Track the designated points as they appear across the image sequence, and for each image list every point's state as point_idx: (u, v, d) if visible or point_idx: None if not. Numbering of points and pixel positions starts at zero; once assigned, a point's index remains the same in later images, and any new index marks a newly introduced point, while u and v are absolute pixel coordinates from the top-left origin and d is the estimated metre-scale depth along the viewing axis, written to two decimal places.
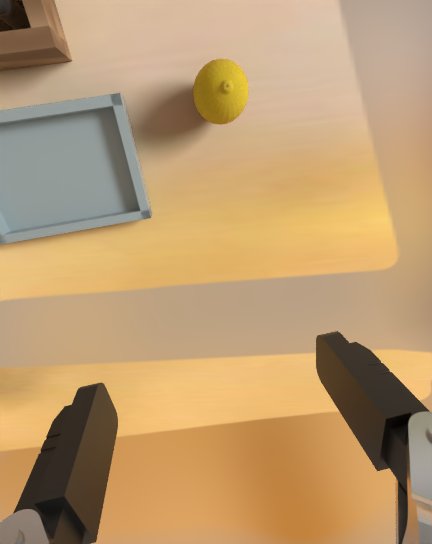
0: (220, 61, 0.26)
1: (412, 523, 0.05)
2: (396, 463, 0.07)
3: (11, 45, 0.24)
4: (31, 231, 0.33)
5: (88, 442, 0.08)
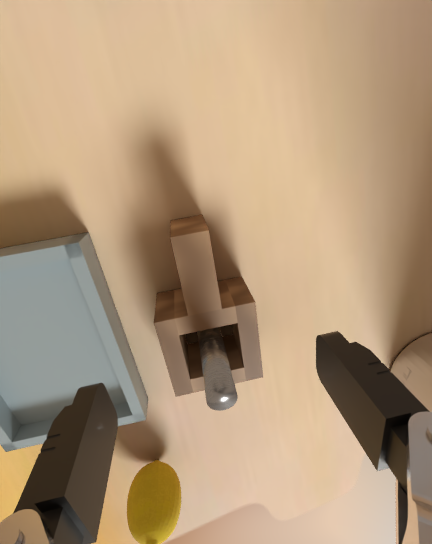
0: (175, 521, 0.28)
1: (412, 523, 0.05)
2: (396, 463, 0.07)
3: (172, 362, 0.22)
4: None
5: (89, 442, 0.08)
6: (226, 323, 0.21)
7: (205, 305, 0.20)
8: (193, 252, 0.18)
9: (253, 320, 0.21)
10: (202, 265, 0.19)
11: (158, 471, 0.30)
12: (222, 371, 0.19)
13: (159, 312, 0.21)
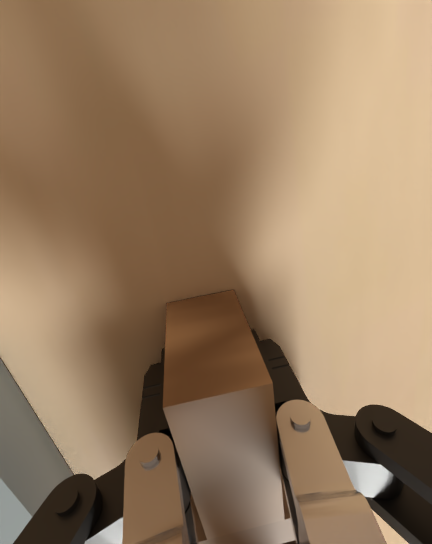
0: None
1: (301, 521, 0.05)
2: None
3: None
4: None
5: None
6: (290, 538, 0.09)
7: (248, 519, 0.09)
8: (225, 431, 0.07)
9: None
10: (248, 455, 0.07)
11: None
12: None
13: None
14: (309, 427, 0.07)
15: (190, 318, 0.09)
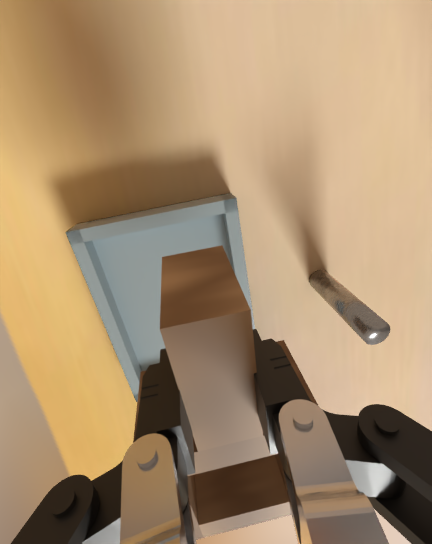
0: None
1: (303, 520, 0.05)
2: (278, 446, 0.08)
3: None
4: (96, 279, 0.23)
5: None
6: (268, 453, 0.11)
7: (232, 434, 0.10)
8: (212, 352, 0.08)
9: None
10: (231, 374, 0.09)
11: None
12: (370, 310, 0.21)
13: None
14: (312, 427, 0.07)
15: (183, 267, 0.10)
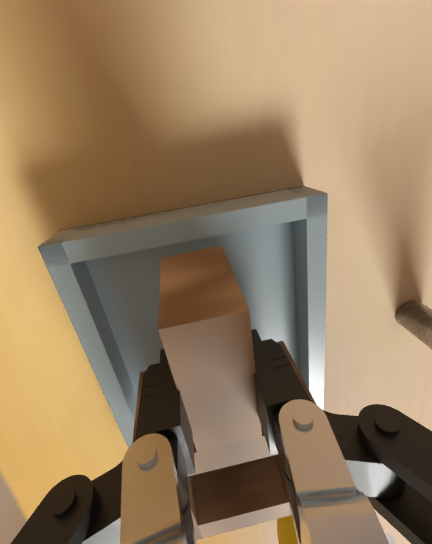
0: None
1: (303, 520, 0.05)
2: (278, 445, 0.08)
3: None
4: (91, 323, 0.14)
5: None
6: (267, 454, 0.11)
7: (231, 434, 0.10)
8: (210, 353, 0.08)
9: None
10: (230, 375, 0.09)
11: None
12: None
13: None
14: (312, 427, 0.07)
15: (182, 268, 0.10)
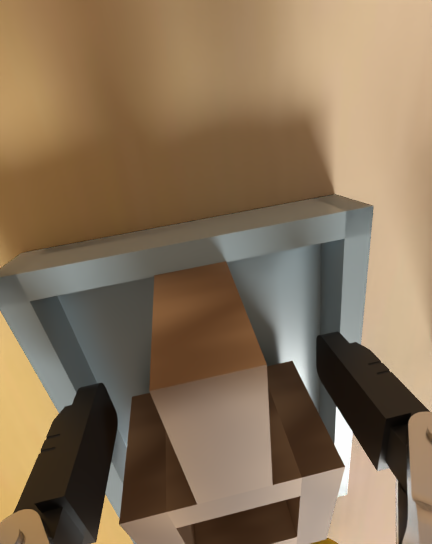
0: None
1: (412, 523, 0.05)
2: (396, 463, 0.07)
3: None
4: (62, 373, 0.11)
5: (89, 442, 0.08)
6: (277, 500, 0.10)
7: (237, 486, 0.09)
8: (216, 411, 0.07)
9: (332, 488, 0.10)
10: (239, 431, 0.07)
11: None
12: None
13: (133, 475, 0.10)
14: None
15: (179, 292, 0.09)
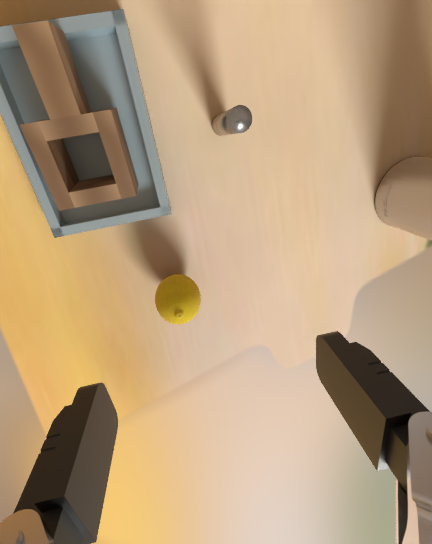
0: (197, 303, 0.33)
1: (412, 523, 0.05)
2: (396, 463, 0.07)
3: (47, 171, 0.25)
4: (0, 89, 0.25)
5: (88, 442, 0.08)
6: (88, 131, 0.24)
7: (64, 109, 0.23)
8: (38, 45, 0.21)
9: (113, 130, 0.25)
10: (50, 62, 0.22)
11: (180, 275, 0.35)
12: None
13: None
14: None
15: None
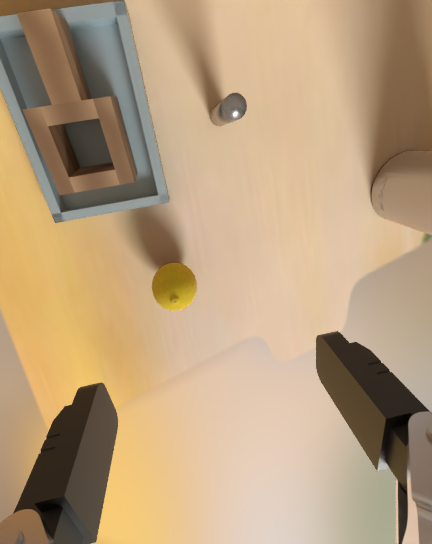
0: (192, 290, 0.33)
1: (412, 523, 0.05)
2: (396, 462, 0.07)
3: (48, 156, 0.26)
4: (5, 76, 0.26)
5: (88, 442, 0.08)
6: (88, 117, 0.25)
7: (65, 94, 0.24)
8: (41, 32, 0.22)
9: (112, 117, 0.25)
10: (53, 48, 0.22)
11: (177, 263, 0.36)
12: None
13: None
14: None
15: None
